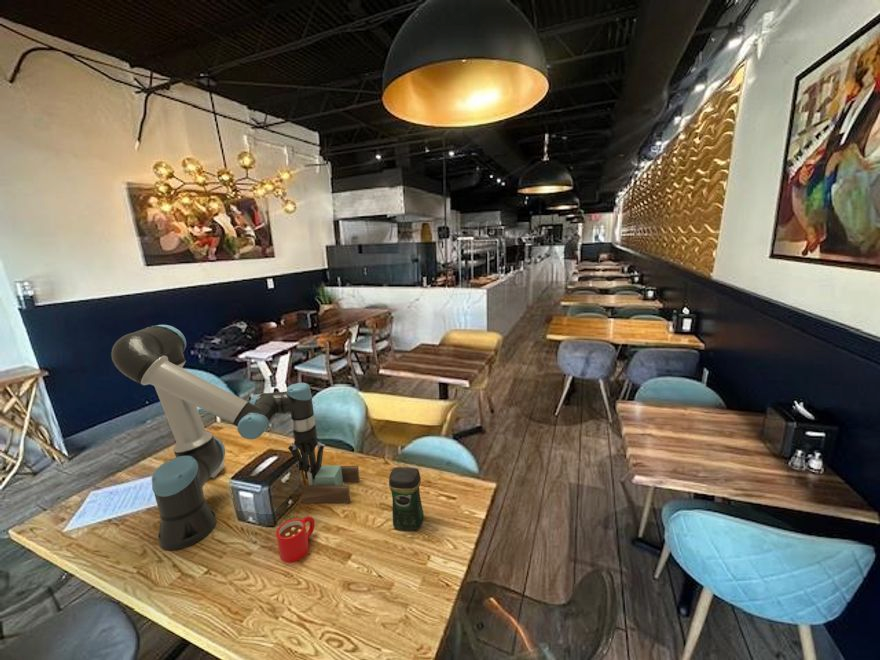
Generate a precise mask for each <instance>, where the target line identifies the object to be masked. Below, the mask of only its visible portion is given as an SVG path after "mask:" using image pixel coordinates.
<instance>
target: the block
mask: <svg viewBox="0 0 880 660" xmlns="http://www.w3.org/2000/svg"><path fill="white" fill-rule="evenodd" d="M321 466H322V467H321V468H320V470H319V471H318V473H317V474H316V476H315V482H316V485H344V482H343V478H342V470H341V466H342V465H340V464H339V465H337V464H336V465H335V464H334V465H333V464H332V465H330V464H329V465H327V464H325V465H323V464H321Z"/></svg>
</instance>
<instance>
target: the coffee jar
mask: <svg viewBox="0 0 880 660" xmlns="http://www.w3.org/2000/svg"><path fill="white" fill-rule="evenodd" d="M420 474H421V473H420V470H419V469H418V468H416V467H408V466H406V467H405V466H403V467H402V466H399V467H398V466H396V467H393V468H392V470H391V471H390V473H389V478H388V487H389V489H390V492H391V498H392V514H391V515H392V525H393V527H394V529H397V530H401V531H402V530H403V531H417V530H418V529H420V528H421V527H422V525H423V522H424V518H425V517H424V516H425V515H424V509H423V505H422V501H421V500H422V499H421V493H420V487H421V482H422V478H421V475H420Z"/></svg>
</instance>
